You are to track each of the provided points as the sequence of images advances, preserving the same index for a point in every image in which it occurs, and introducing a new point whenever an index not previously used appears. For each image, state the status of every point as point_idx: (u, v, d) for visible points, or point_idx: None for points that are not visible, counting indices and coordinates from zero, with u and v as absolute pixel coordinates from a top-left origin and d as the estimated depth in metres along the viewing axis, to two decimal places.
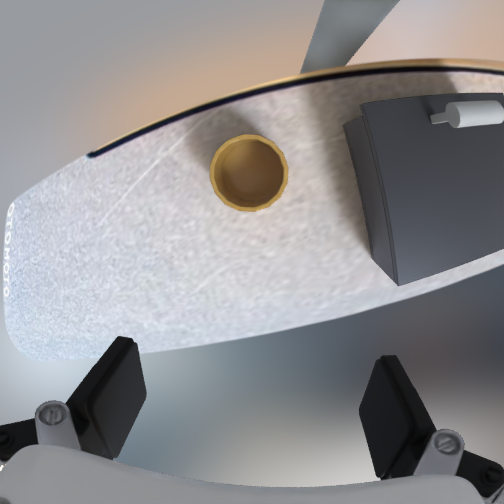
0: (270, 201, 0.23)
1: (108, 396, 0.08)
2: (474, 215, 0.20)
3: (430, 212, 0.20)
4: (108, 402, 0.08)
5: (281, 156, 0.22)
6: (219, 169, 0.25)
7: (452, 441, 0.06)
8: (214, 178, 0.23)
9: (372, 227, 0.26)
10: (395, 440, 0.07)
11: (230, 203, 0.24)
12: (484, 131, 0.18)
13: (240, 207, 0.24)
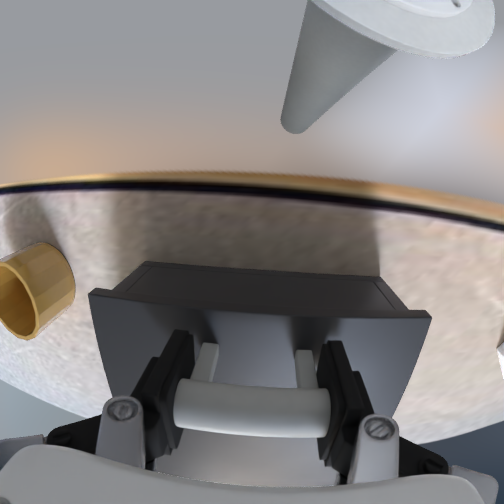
0: (28, 336, 0.16)
1: (175, 387, 0.09)
2: (259, 458, 0.15)
3: None
4: None
5: (32, 301, 0.15)
6: (9, 273, 0.18)
7: (383, 424, 0.07)
8: None
9: None
10: (330, 421, 0.08)
11: (1, 320, 0.16)
12: None
13: (8, 327, 0.16)
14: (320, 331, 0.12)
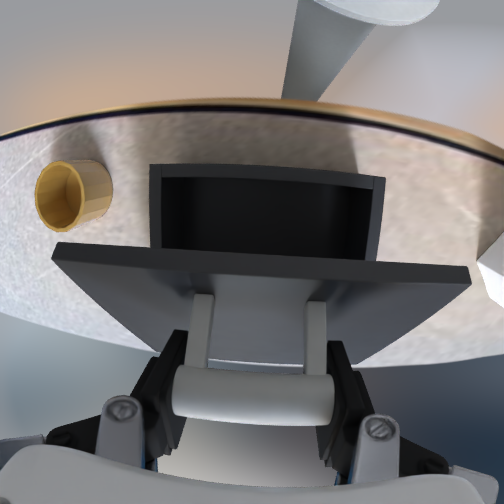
0: (68, 227, 0.22)
1: None
2: (267, 352, 0.18)
3: None
4: None
5: (81, 189, 0.21)
6: (54, 184, 0.23)
7: (384, 424, 0.07)
8: (38, 193, 0.21)
9: None
10: (331, 421, 0.08)
11: (43, 219, 0.22)
12: (344, 318, 0.12)
13: (48, 224, 0.22)
14: (338, 290, 0.10)
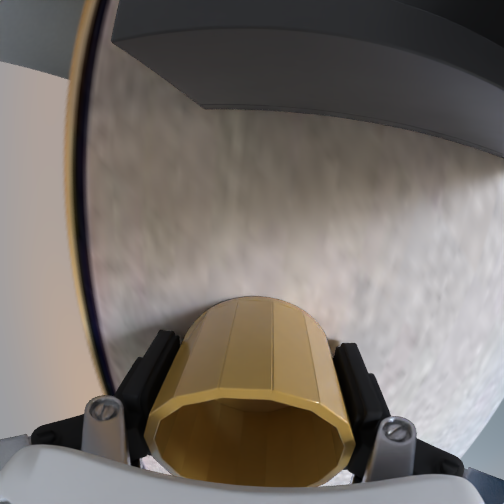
0: (345, 440, 0.07)
1: (158, 388, 0.08)
2: None
3: None
4: None
5: (227, 395, 0.06)
6: (224, 441, 0.10)
7: (402, 427, 0.07)
8: None
9: (500, 145, 0.07)
10: None
11: None
12: None
13: (321, 479, 0.07)
14: None
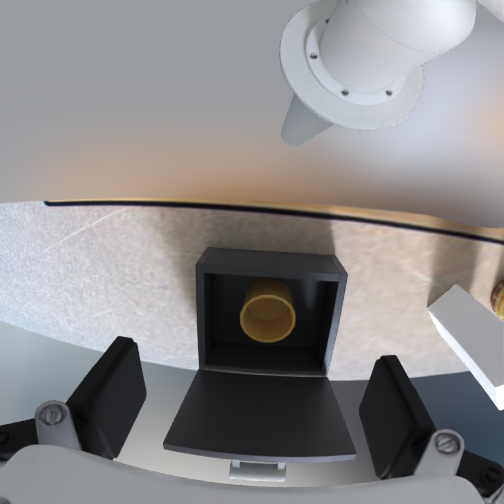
0: (292, 313, 0.32)
1: (108, 396, 0.08)
2: None
3: None
4: (108, 402, 0.08)
5: (264, 296, 0.32)
6: (258, 327, 0.36)
7: (452, 441, 0.06)
8: (262, 339, 0.34)
9: None
10: (395, 440, 0.07)
11: (283, 336, 0.33)
12: None
13: (288, 331, 0.33)
14: None
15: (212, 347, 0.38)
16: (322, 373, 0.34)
